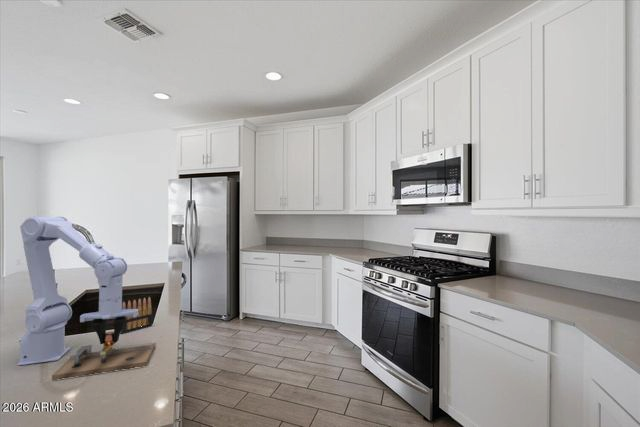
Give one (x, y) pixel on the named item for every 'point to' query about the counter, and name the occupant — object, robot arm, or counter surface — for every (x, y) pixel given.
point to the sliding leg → (107, 345)
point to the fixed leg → (81, 354)
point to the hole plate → (104, 364)
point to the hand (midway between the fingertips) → (109, 342)
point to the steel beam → (116, 350)
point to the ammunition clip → (138, 317)
